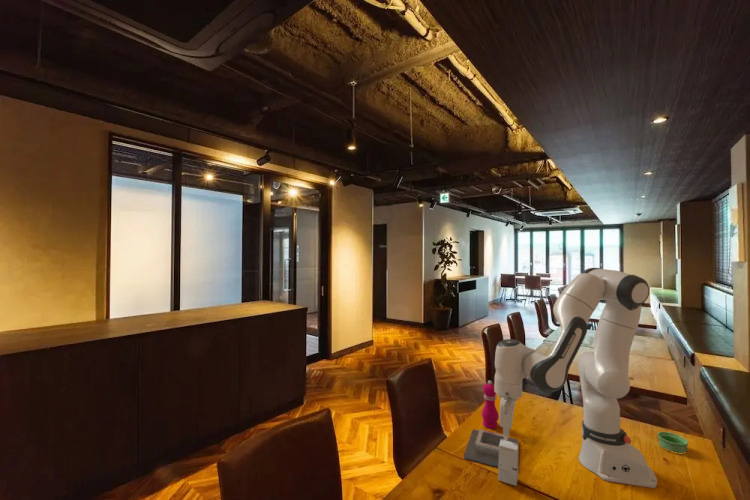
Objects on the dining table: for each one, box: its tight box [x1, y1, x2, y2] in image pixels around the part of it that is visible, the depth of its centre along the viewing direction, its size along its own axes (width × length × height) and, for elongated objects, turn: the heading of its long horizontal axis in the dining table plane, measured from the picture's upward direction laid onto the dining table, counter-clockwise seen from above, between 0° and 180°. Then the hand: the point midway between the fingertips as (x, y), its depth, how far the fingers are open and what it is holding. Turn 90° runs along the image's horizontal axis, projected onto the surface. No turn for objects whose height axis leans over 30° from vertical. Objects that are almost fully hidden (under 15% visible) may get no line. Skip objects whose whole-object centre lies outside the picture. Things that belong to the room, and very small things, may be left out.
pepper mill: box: [481, 380, 500, 430], centre depth 147 cm, size 7×7×20 cm
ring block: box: [463, 428, 519, 468], centre depth 129 cm, size 18×20×4 cm
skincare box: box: [497, 439, 520, 487], centre depth 112 cm, size 6×4×12 cm
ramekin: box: [657, 431, 689, 453], centre depth 129 cm, size 9×9×4 cm
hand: (507, 428), depth 112 cm, fingers open, 8 cm apart
